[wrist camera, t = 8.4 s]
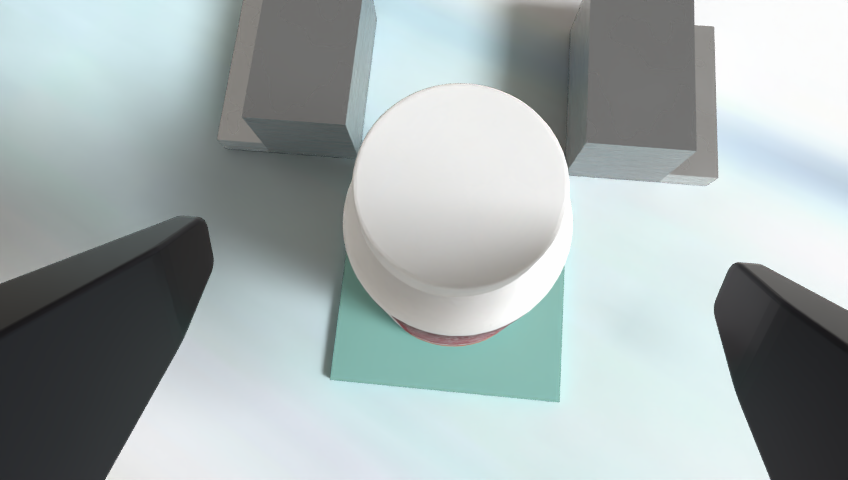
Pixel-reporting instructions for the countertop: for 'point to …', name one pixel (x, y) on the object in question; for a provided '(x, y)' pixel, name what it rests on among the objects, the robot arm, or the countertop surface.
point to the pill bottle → (458, 212)
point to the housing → (587, 86)
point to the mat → (449, 350)
